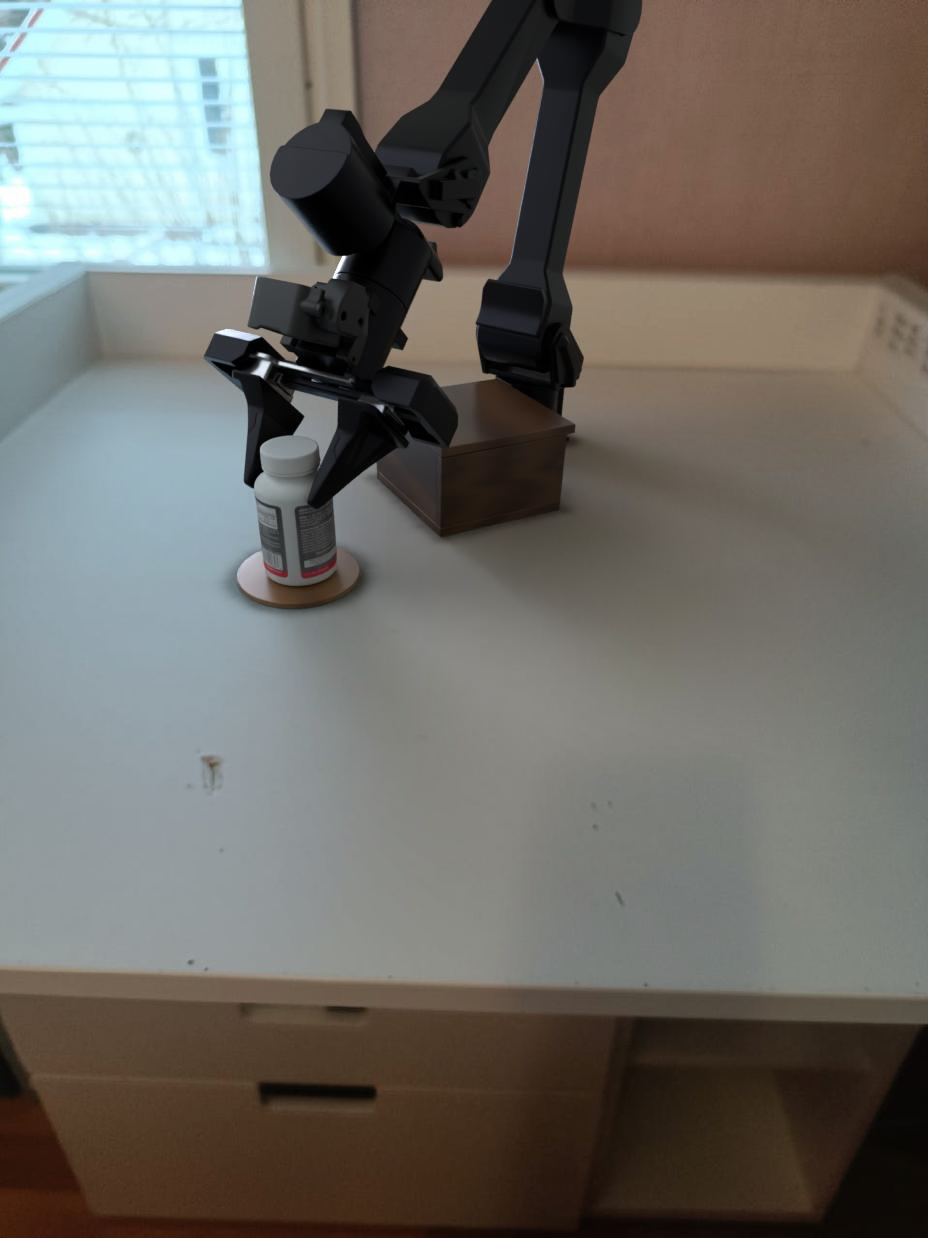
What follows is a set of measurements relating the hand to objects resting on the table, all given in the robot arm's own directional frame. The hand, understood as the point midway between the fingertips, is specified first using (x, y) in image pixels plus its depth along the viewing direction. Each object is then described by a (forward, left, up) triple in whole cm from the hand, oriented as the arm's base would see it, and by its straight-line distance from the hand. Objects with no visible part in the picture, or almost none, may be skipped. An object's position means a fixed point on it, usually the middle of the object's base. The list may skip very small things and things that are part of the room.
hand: (279, 496), depth 60 cm
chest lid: (-19, -8, 0) cm, 21 cm away
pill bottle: (-1, -1, -7) cm, 7 cm away
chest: (-19, -8, -7) cm, 22 cm away
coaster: (-1, -1, -7) cm, 7 cm away
